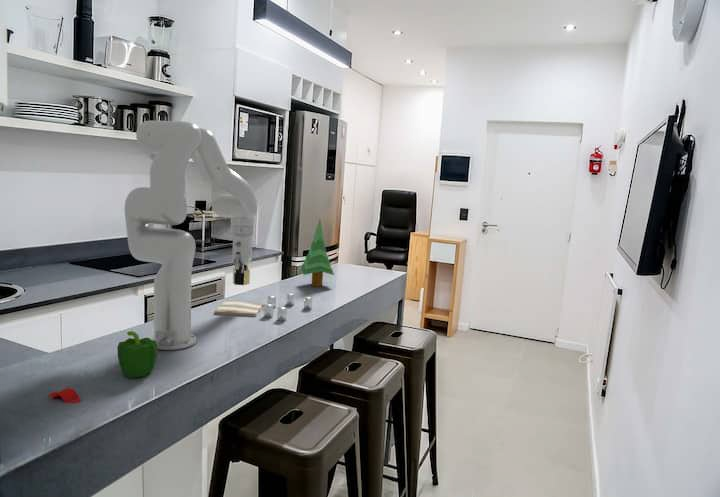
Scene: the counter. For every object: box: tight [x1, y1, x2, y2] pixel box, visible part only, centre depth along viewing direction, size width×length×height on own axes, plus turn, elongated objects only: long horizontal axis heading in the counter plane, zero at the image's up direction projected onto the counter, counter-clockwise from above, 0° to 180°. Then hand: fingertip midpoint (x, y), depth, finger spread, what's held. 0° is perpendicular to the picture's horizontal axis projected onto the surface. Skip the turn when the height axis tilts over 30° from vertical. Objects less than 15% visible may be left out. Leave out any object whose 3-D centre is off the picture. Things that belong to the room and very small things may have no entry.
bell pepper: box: [117, 330, 158, 379], centre depth 117 cm, size 8×8×10 cm
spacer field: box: [263, 292, 313, 322], centre depth 177 cm, size 23×16×4 cm
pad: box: [213, 300, 265, 317], centre depth 176 cm, size 14×14×1 cm
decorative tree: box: [300, 218, 335, 288], centre depth 220 cm, size 14×16×30 cm
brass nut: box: [232, 267, 251, 286], centre depth 175 cm, size 5×6×5 cm
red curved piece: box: [48, 387, 82, 404], centre depth 104 cm, size 8×3×2 cm, turn 68°
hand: (241, 282), depth 175 cm, fingers closed on brass nut, 5 cm apart
